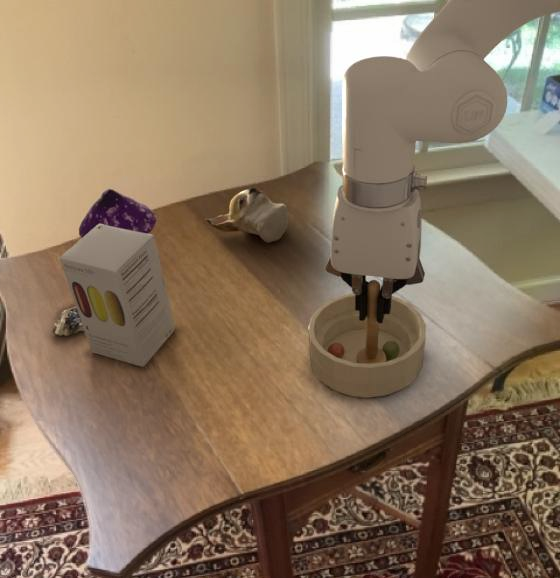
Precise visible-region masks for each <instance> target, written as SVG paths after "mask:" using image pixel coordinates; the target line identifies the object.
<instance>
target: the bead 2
mask: <svg viewBox="0 0 560 578" xmlns="http://www.w3.org/2000/svg"><path fill="white" fill-rule="evenodd" d="M382 351H383V352H384V353H385V354H386V357H387V358H390V359H392V358H395V357H397V356H398V354H399V352H400V348H399V345H398V344H397V343H396V342H394V341H388V342H386V343H385V344H384V345H383V347H382Z"/></svg>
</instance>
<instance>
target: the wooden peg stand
mask: <svg viewBox="0 0 560 578" xmlns="http://www.w3.org/2000/svg"><path fill="white" fill-rule="evenodd" d="M368 282H369V283H368V285H367V316H366V348H364V349H362V350H360V351H359V352H358V353H357V358H356V363H364V364H373V363H381V362H386V354H385V353H384V352H383V351H382V350H381V349H379V348H378V330H379V323H378V322H377V299H378V295H379V293H380V289H381V283H380V281H378V280H377V279H371V280H369V281H368Z"/></svg>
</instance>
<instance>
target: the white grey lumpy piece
mask: <svg viewBox="0 0 560 578" xmlns="http://www.w3.org/2000/svg"><path fill="white" fill-rule="evenodd" d="M59 318H60V320H59V319H57V318H56V320H57V323H56V322H55V323H53V325H54V327H53V328H52V332H51V333H53V334H54V335H56V336H59V337H62V336H63V335H64V337H68V336H70V335H72V334H74V335H75V334H77V333H78V332H85V331H84V328H83V325H82V322H81V319H80V316H79V313H78V310H77V307H76V305H75V306H72V307H71V306H70V307H69V308H67V309H65V310H63V311H61V315H60V316H59Z"/></svg>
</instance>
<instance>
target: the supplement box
mask: <svg viewBox="0 0 560 578" xmlns="http://www.w3.org/2000/svg"><path fill="white" fill-rule="evenodd" d="M59 261H60V264H61V266H62V270H63V272H64V275H65V278H66V281H67V284H68V287H69V289H70V293H71V295H72V298H73V301H74V305H75V306H76V307H77V310H78V313H79V316H80V319H81V322H82V325H83V328H84V331H83V332H84V333H85V336H86V339H87V342H88V345H89V348H90V350H91V353H93V354H96V355H97V354H98V355H100V356H103V357H108V358H110V359H114V360H116V361H117V360H118V361H120V362H124V363H127V364H131V365H134V366H136V367H137V366H138V367H141V368H144V367H145V366H146V365H147V364H148V363H149V362H150V360H151V359H152V358H153V356H154V355H155V354H156V353H157V352H158V351H159V349H160V348H162V346H163V345H164V343H165V342H166V341H167V340H168V339H169V337H171V335H172V334H173V333H174V332H175V330H176V327H175V322H174V318H173V317H174V316H173V313H172V309H171V303H170V300H169V296H168V290H167V286H166V280H165V277H164V273H163V269H162V264H161V258H160V254H159V250H158V245H157V241H156V238H155V234H152V233H149V234H147V233H141V232H136V231H131V230H126V229H121V228H117V227H112V226H108V225H104V224H98V225H97V226H96V227H94V228H93V229H92V230H91V231H90V232H88V233H87V234H86V235H85V236H84V237H83V238H80V239H79V240H78V241H77V242H76V243H75V244H73V245H72V246H71V247H69V249H67V250H66V251H65V252H64V253H63V254H62V255H61V256H60V257H59Z"/></svg>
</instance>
